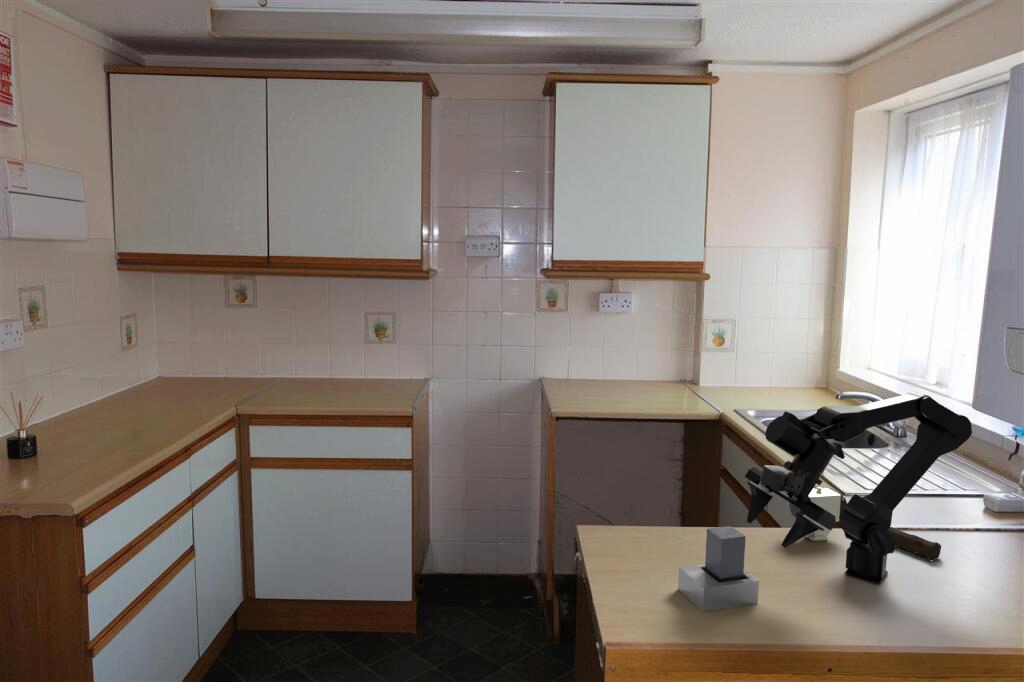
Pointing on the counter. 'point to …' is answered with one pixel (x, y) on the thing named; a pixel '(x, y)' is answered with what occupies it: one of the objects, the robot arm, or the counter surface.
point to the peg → (725, 554)
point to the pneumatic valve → (827, 501)
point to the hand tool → (915, 544)
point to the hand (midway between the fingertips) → (765, 534)
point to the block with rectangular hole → (716, 589)
